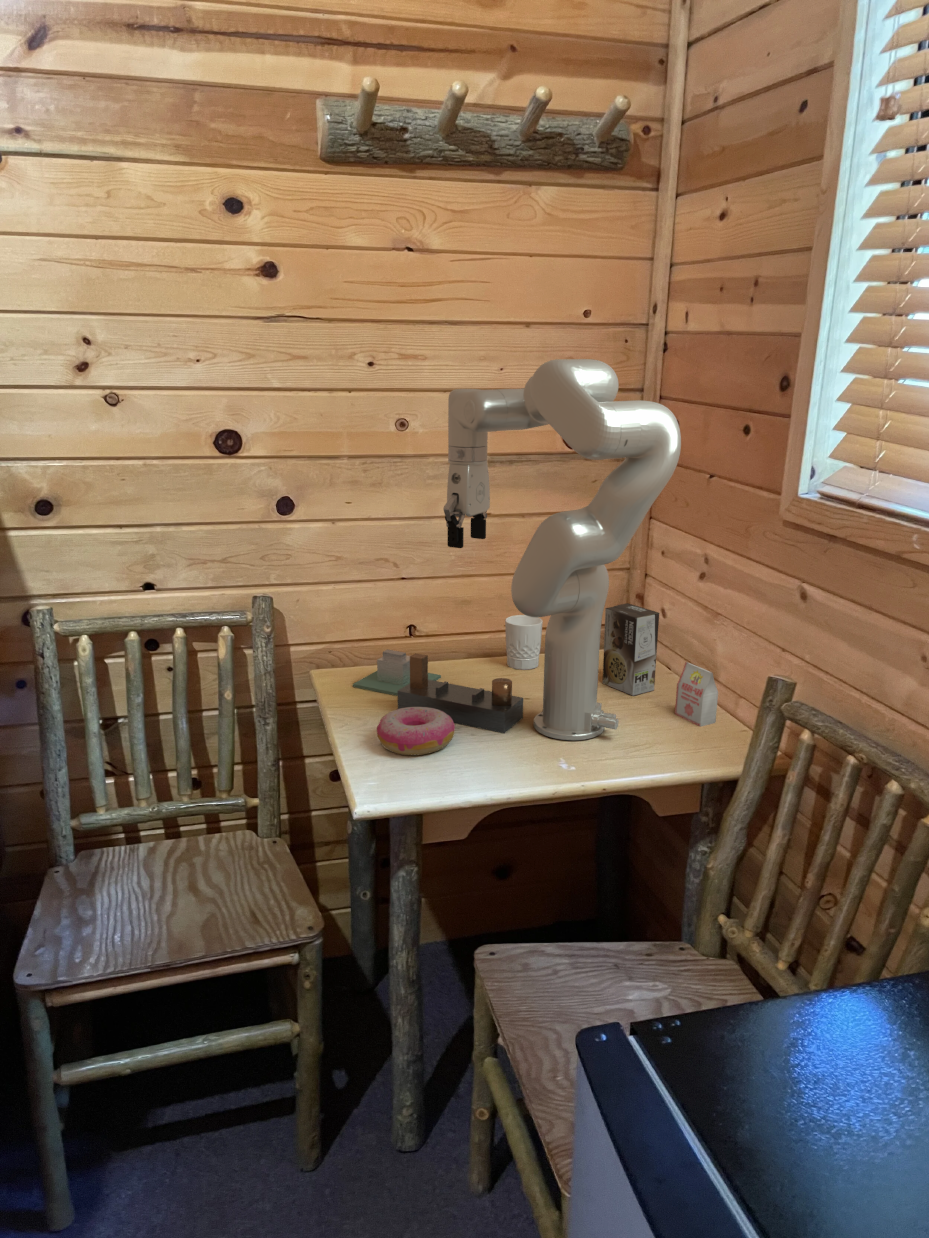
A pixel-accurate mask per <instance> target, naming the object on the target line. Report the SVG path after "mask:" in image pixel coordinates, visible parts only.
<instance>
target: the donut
mask: <svg viewBox="0 0 929 1238" xmlns="http://www.w3.org/2000/svg"><path fill="white" fill-rule="evenodd" d="M455 733H456V725H455V723H454V722H453V720H452V718H451V717H450V716H449V715H447V714H446V713H444V712H443V711H440V710H438V709H434V708H428V707H406V708H400V709H398V708H397V709H395V710H392V711H390V712H388V713H387V714H385V715H384V716H382V717H381V718H380V721H379V722H378V724H377V727H376V737H377V739H378V741H379V743H380V745H381V746H382V747H384V748H385V749H386V750H388V751H390V752H391V753H394V754H398V755H402V756H404V755H405V756H421V755H422V756H423V755H428V754H432V753H435V752H437V751H440V750H441V749H443V748H445V747H446V746H448V745H449V744H450V743H451V741H452V739H453V738H454V736H455Z"/></svg>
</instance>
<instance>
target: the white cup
mask: <svg viewBox="0 0 929 1238" xmlns="http://www.w3.org/2000/svg"><path fill="white" fill-rule="evenodd" d="M543 621H544V620H543V619H542V617H529V616H526V615H524V614H518V615H517V614H516V615H511V616H508V617H506V618H505V625H504V626H505V648H506V649H505V650H506V665H507V666H508V667H509V668H512V669H513V670H514V669H515V670H520V671H524V670H525V671H526V670H533V669H535V668H538V667H539V662H540V660H539V659H540V655H541V646H542V634H543V623H544V622H543Z"/></svg>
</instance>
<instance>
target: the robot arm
mask: <svg viewBox="0 0 929 1238" xmlns="http://www.w3.org/2000/svg"><path fill="white" fill-rule="evenodd" d="M619 386H620V385H619V379H618V375H617V374H616V372H615V370H614V369H613V368H612V367H611V366H610V365H609V364H608V363H606V362H604V361H601V360H599V359H592V358H591V359H589V358H588V359H587V358H579V359H578V358H577V359H576V358H570V359H568V358H564V359H562V358H561V359H557V358H556V359H550V360H549V361H546V362H544V363H542V364H541V365H540V366H539V367H538V368H537V369H536V370H535V371H534V373H533V375H532V376H530V378H529V379H528V380H527V381H526V383H525V386H524V387H523V388H500V389H499V388H496V389H479V388H456V389H453V390H451V391H450V392H449V394H448V397H447V398H448V399H447V400H448V403H447V404H448V405H447V406H448V410H447V411H448V412H447V413H448V414H447V419H448V421H447V423H448V430H447V431H448V434H447V436H448V438H447V439H448V440H447V441H448V442H447V443H448V445H447V446H448V448H447V449H448V450H447V452H448V454H447V455H448V457H447V458H448V460H447V463H448V464H449V465H448V466H449V467H448V474H447V489H446V503H445V504H444V506H443V513H444V520H445V522H446V525H445V526H446V527H447V547H449V548H455V549H462V548H464V533H465V532H464V527H462V526H463V522H464V520H465V517H468V518H469V517H471V518H470V538H471V539H475V540H476V539H477V540H485V539H486V538H487V518H488V513H487V511H488V510H489V509H490V506H491V496H490V495H491V491H490V473H489V466H488V440H489V439H488V437H489V436H488V433H489V432H490V433H491V432H492V433H493V432H503V431H504V432H505V431H506V432H508V431H521V430H522V431H523V430H528V429H533V428H534V429H535V428H539V427H542V426H543V427H544V426H547V425H550V427H551V428H552V429H553V430H554V431H555V432H556V433H557V434H558V436H560V437H561V439H563V440H564V441H565V443H566V444H567V445H568V446H569V447H570V448H571V449H572V450H573V451H574V452H575V453H577V454H578V455H579V456H581V457H583V458H585V459H589V460H593V461H601V460H602V461H603V460H612V459H623V458H624V460H623V461H622V462H621V463H620V464H619V465H618V466H617V467H615V469H613V470H612V471H611V472H610V473H609V474H608V475H607V476H606V478H605V479H604V480H603V481H602V483H601V484H600V486H599V488H598V490H597V492H596V494H595V495H594V497H593V498H592V500H590V502H589V503H588V505H586V506H584V507H582V508H577V509H572V510H571V509H570V510H565V511H560V512H556V513H553V514H550V516H548V517H547V518H545V519H544V520H543V521H542V522H541V523H540V524H539V526H538V527H537V529H536V530H535V532H534V534H533V536H532V537H531V538H530V541H529V543H528V545H527V547H526V549H525V550H524V552H523V554H522V557H521V558H520V560H519V562H518V564H517V567H516V569H515V570H514V573H513V576H512V580H511V586H510V588H511V589H510V592H511V598H512V602H513V605H514V607H515V608H516V609H517V610H518V611H519V613H521V614H522V615H526V616H529V617H539V618H545V617H549V619H548V621H547V625H546V628H545V635H544V636H545V637H544V638H545V640H544V659H543V660H544V662H543V664H544V665H543V692H542V693H543V695H542V711H540V712H539V713H537V714H536V715H535V716H534V717H533V727H534V729H535V730H536V732H538V733H539V734H542V735H544V736H546V737H549V738H551V739H552V738H553V739H556V740H562V741H583V740H590V739H592V738H596V737H598V736H600V735H601V734H602V733H603V732H604V730H605V728H606V729H609V730H618V727H619V718H617V715H616V713H611V712H604V710H602V705H603V704H602V703H601V702H597V700H598V683H599V682H598V679H599V666H600V665H599V663H600V646H601V632H602V621H603V615H604V609H605V604H606V602H607V598H608V595H609V594H608V593H609V589H610V588H609V587H610V577H609V571H608V569H607V567H606V565H607V564H611V563H613V562H615V561H617V560H618V559H619V558H620V557H621V556H622V554H623V553H624V552H625V550H626V549H627V547H628V545H629V544H630V542H631V540H632V538H633V536H634V535H635V534H636V532H637V531H638V529H639V527H640V526H641V524H642V522H643V520H644V519H645V518H646V516H647V513H648V512H649V510H650V509H651V507H652V506H653V504H654V502H656V500H657V499H658V497H659V495H661V493H662V491H663V490H664V489H665V487H666V486H667V484H668V483H669V481H670V480H671V478H672V476H673V475H674V472H675V470H676V468H677V466H678V463H679V460H680V456H681V447H682V437H681V436H682V434H681V428H680V425H679V422H678V419H677V418H676V416H675V414H674V413H673V412H672V411H671V410H670V409H669V407H667V406H665V405H663V404H662V403H659V402H656V401H655V402H654V401H650V400H642V399H641V400H640V399H637V400H635V399H634V400H619V401H616V400H615V399H616V397H617V395H618V391H619ZM614 400H615V401H614ZM457 517H458V518H457Z"/></svg>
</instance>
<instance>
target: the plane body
mask: <svg viewBox="0 0 929 1238" xmlns="http://www.w3.org/2000/svg"><path fill="white" fill-rule="evenodd" d="M409 656H410V684H408V685H406V686H405V687H403V688H401V689H400V690H398V691H397V693H398V696H397V709H400V708H406V707H428V708H434V709H438V710H440V711H443V712H444V713H446V714H447V715H449V716H450V717H451V718H452V720H453V722H454V724H458V725H464V726H466V727H467V726H468V727H472V728H476V729H482V730H487V731H490V732H491V731H492V732H496V733H501V734H505V733H507V732H508V731H509V730H510V729H512V728H513V727H514V726H516V724H518V723H519V722H520V721H521V720H522V719H523V718H524V696H522V697H521V696H516V695H513V680H511V679H510V678H505V677H498V678H493V679H492V680H491V690H490V691H489V690H485V688H481V687H480V688H476V687H475V688H473V687H470V686H463V685H459V684H455V683H449V681H444V682H443V681H439V680H437V681H434V680H428V673H429V666H428V665H429V660H428V659H429V656H428V655H427V654H421V653H413V654H412V655H409Z"/></svg>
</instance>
